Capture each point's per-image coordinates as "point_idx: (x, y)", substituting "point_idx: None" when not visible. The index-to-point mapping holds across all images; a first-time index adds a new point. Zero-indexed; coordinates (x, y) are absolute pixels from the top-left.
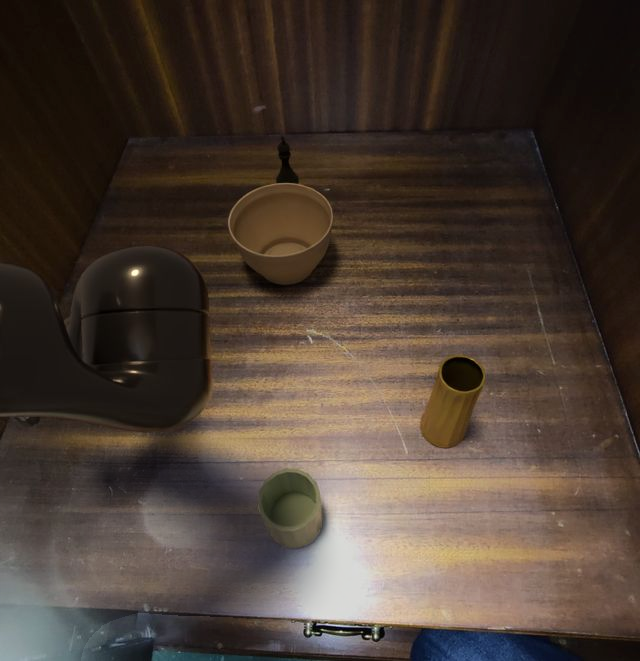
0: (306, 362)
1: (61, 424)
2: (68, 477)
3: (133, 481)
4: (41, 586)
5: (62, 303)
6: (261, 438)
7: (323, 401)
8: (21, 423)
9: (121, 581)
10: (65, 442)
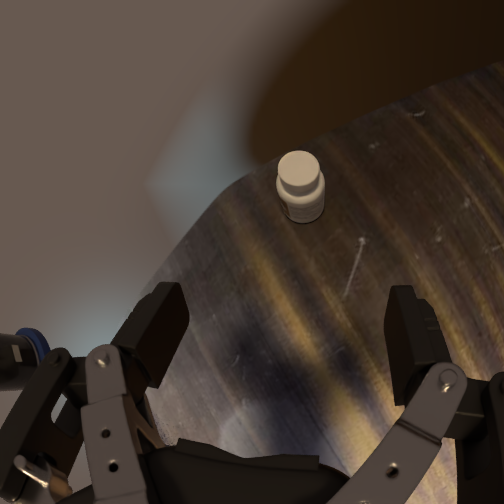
0: None
1: (268, 234)
2: (221, 299)
3: (258, 378)
4: None
5: (385, 106)
6: None
7: (449, 485)
8: (61, 410)
9: (171, 429)
10: (253, 258)
